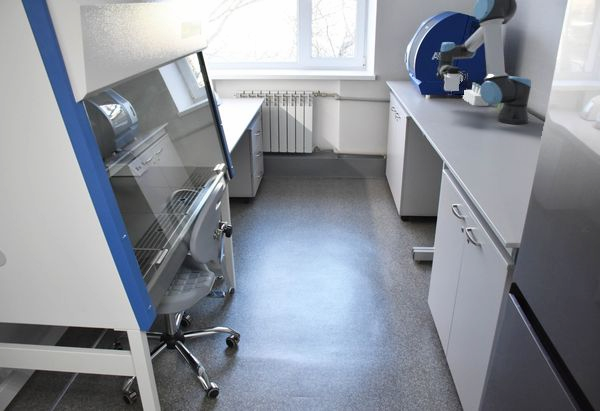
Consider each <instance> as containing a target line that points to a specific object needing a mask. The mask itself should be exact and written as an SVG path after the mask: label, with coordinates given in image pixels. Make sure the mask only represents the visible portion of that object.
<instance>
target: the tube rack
mask: <svg viewBox="0 0 600 411" xmlns="http://www.w3.org/2000/svg"><path fill="white" fill-rule="evenodd" d="M481 87H482V85H480V84H479V83H476V82H472V87H471V89H466V90H464V95H462V100H463V99H464V100H463V101H465V102H467V103H468V102H469V103H468V104H470V105H472V106H473V105H474V107H483V106H484V107H487V106H489V105H490V104H488V103H486V102H485V101H484V100H483V99H482V97H481V94H480V88H481Z"/></svg>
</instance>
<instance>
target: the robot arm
mask: <svg viewBox="0 0 600 411" xmlns="http://www.w3.org/2000/svg"><path fill="white" fill-rule="evenodd" d="M517 3H518V2H517V1H516V0H476V2H474V6H473V17H474V18H475V19H476V20H478V21H479V26H480V27H478V29H477V30H475V32H474V33H473V34H471V36H470V37H468V38H467V40H465V42H464V43H463V44H458V45H456V43H455V42H453V41H452V42H450V41H445V42H442V43H441V46H440V52H439V53H440V54H439V55H440V56H439V57H440V58H439V63H438V67H437V72H436V78H437V79H438V80H440V81H444V82H445V81H447V76H446V75H447V71H448V68H449V67H453V65H454V64H453V62H454V60H460V59H462V60H463V59H465V60H466V59H472V58H474V56H476V54H477V49H479V48H480V47H481V46H482V45H483V44H484V52H485V53H484V54H485V66H486V76H485V77H484V79H483V81H484V82H483V83H482V84H481V86H482V87H481V88H480V94H481V97H482V99H483V100H484V101H485V102H486V103H488V104H489V105H498V104H499V103H504V105H503V108H502V109H501V111H500V112H499V113H498V115H497V121H499V122H501V123H505V124H511V125H524V124H528V123H529V119H530V118H529V113H528V103H529V97H530V92H531V88H532V80H531V79H530V78H528V77H521V76H512V75H509V74H508V73H507V72H505V71H506V70H505V67H506V66H505V55H504V43H503V42H504V41H503V32H502V27H503V25H506V24H508V22H510V21H511V20H512V19H513V17H514V16H515V15H516V12H517V8H518V5H517ZM459 72H460V73H459V75H458V76H459V77H460V81H461V82H462V81H463V79H464V80H465V79H466V74H463V73H462V72H463V71H459Z"/></svg>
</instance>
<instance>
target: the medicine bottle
mask: <svg viewBox="0 0 600 411" xmlns="http://www.w3.org/2000/svg"><path fill="white" fill-rule="evenodd" d="M460 69H461V68H460V67H458V66H452V67H449V68H448V71H447V75H446V76H447V81H444V85H443V90H444V91H445V92H452V91H459V84H460V77H459V76H458V75H459V72H460Z"/></svg>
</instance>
